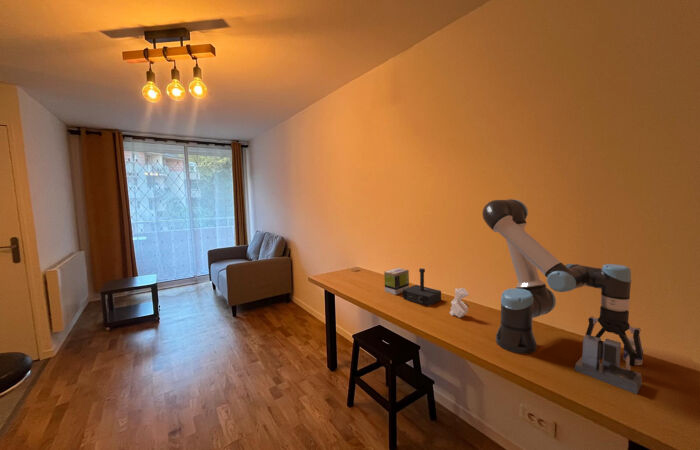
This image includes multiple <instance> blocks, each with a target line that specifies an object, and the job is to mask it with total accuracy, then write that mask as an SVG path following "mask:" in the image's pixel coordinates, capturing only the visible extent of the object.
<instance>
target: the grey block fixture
mask: <svg viewBox="0 0 700 450" xmlns="http://www.w3.org/2000/svg"><path fill="white" fill-rule="evenodd" d="M585 335H586V334H585ZM585 335H584V336H583V339H582V356H581V357H580V358H579V359H578V361H576V362H575V365H574V371H575V372H577V373H580V374H583V375H584V376H587V377H591V378H593V379H595V380H599V381H601V382H604V383H607V384H609V385H611V386H614V387H616V388H619V389H622V390H623V391H627V392H629V393H633V394H634V395H638V393H639V391H640V389H641V387H642V384H643V383H642V381H643V377H642V373H640V372H636V371H634V370H631V369H630V370H628V369H626V367H621V366H620V367H619V366H616V365H613V364H610V366H607V365H604V364H602V362H600V361H602V360H603V343H604V340H602V338H601V337H600V338H597V337H595V336H593V335H591V336H590V335H586V336H585Z"/></svg>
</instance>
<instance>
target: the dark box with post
mask: <svg viewBox="0 0 700 450" xmlns="http://www.w3.org/2000/svg"><path fill="white" fill-rule="evenodd" d="M418 271H419V282H420V283H419V285H418V284H415V285H412V286H409V288H406V289H403V292H402V299H404V300H407V301H409V302H412V303H415V304H418V305H422V306H423V305H424V306H426V305H427V307H430V306H432V305H434V304H436V303H439V302H440V301H442V291H441V290H440V289H435V288H431V287H428V286H427V287H426V286H425V275H424V274H425V272H426V269H425V268H419V270H418Z"/></svg>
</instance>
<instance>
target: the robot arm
mask: <svg viewBox="0 0 700 450" xmlns="http://www.w3.org/2000/svg"><path fill="white" fill-rule="evenodd" d="M528 215H529V211H528V207H527V206H526V204H525V203H524V202H523V201H520V200H519V199H513V198H510V199H509V198H508V199H494V200H491V201H489V202H488V203H486V205H484V207H483V209H482V219H483V221H484V223H485V224H486V225H487V227H489V229H491V230H492V231H493V232H494V233H499V234H500V235H501V236H502V237H503V238H504V239H505V240H506V241H505V242H506V244H507V248H508V251H509V255H510V258H511V261H512V264H513V269H514V272H515V275H516V278H517V281H518V282H517V284H516V286H515V287H516V288H512V287H511V288H508V289H505V290H504V291H502V293H501V297H500V307H501V308H500V325H499V327H498V330H497V332H496V334H495V342H496V344H497V345H498V346H499V347H501V348H503V349H504V350H507V351H508V352H512V353H515V354H522V355H525V354H526V355H527V354H534V353H535V352H536V351H537V347H538V346H537V345H538V344H537V341H536V339H535V335H534V331H533V319H534V318H538V317H540V316H544V315H547V314H549V313H550V312H552V311H553V310H554V309H555V307H556V303H557V299H556V296H555V294H554V293H553V291H554V292H558V293H565V292H572V291H573V290H575V289H579V288H582V287H590V288H595V289H599V290H601V291H600V307H599V308H600V309H599V317H594V316H590V317H589V318H588V326H587V329H586V332H585V335H584V337H585V336H586V335H590V336H592V333H593V331H594V327H595V325H596V324H597V323H599V325H600V326H601V329H599V331H598V332H597V333H596V335H595V336H594V337H597V338H601V337H602V336H603V335H604V333H605V332H607V333H612V334H614V335H618V336H619V338H620V340H621V343H623V347H624V346H625V348H626V350H627V352H628V355H627V358H626V361H625V369H628V370H631V367H635V366H636V365H635V358H640V359H641V358H642V357H643V358H644V350H643V351H642V347H643V346H642V344H641V341H642V340H641V337H640V335H641V328H640V327H633V326H631V325H630V323H629V317H630V316H629V315H630V311H629V310H630V303H631V302H630V301H631V285H632V271H631V268H630V267H628V266H626V265H623V264H614V263H606V264H603V265H602V267H601V268H600V267H599V268H598V267H593V266H588V265H582V264H577V263H576V264H575V263H566V264H564V263H562V261H560V260H559V259H558V258H557V257H556V256H554V254H552V253H551V252H550V251H549V250H547V248H545V247H544V246H543V245H541V243H540V242H539V241H537V240H536V239H535V238H534V237H533V236H531V234H529V233H528V232H527V231H525V227H526V226H527V225H528V224H527V220H526V219H527V217H528ZM538 271H540V273H542V275H544V276H545V277H546V282H547V285H548V287H549V288H550V289H551V290H550V289H549V288H548V287H547V285H546V282H545V281H543V280H541V278H540V276H539V275H540V274H539V272H538ZM552 290H553V291H552ZM628 330H629V331H630V333H631V334H632V337H633V339H634V344H635V349H636V353H635V352H634V350H633V348H632V346H631V344H630V342H629V340H628V338H627V337H628V336H627V333H626V332H627V331H628ZM640 340H641V341H640Z"/></svg>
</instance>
